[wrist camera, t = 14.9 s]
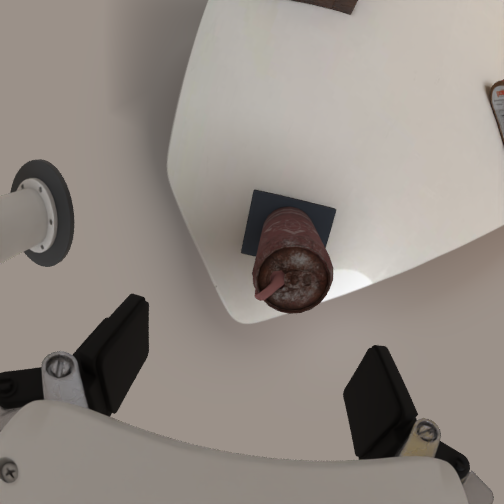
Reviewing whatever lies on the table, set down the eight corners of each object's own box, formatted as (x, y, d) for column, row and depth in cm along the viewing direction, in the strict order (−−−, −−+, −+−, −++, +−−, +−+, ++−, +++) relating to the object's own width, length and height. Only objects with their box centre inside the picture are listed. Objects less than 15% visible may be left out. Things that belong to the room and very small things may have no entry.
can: (250, 229, 33) (231, 278, 20) (291, 195, 31) (301, 223, 18) (282, 265, 34) (283, 332, 21) (323, 234, 32) (351, 287, 19)
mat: (241, 251, 34) (240, 253, 34) (254, 189, 32) (253, 189, 31) (317, 268, 34) (318, 270, 34) (335, 208, 31) (336, 209, 31)
